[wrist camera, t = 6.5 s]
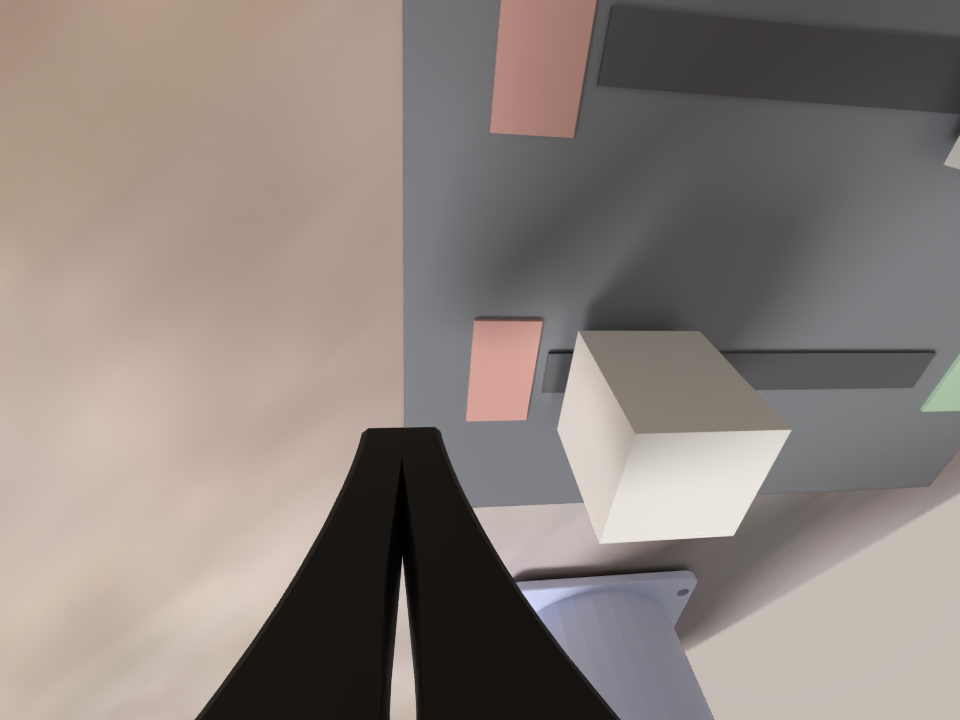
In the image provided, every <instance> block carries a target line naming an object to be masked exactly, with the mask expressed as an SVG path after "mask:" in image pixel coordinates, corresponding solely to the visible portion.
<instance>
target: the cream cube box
mask: <svg viewBox="0 0 960 720" xmlns="http://www.w3.org/2000/svg"><path fill="white" fill-rule="evenodd" d="M943 165H946V166H950V167H953V168H957V169H960V136H959V137H958V139H957V141H956V143H955V145H954V146H953V148H952V150H951V152H950V154H949V155H948V157H947V159H946V161H945V163H944V164H943Z"/></svg>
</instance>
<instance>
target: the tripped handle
mask: <svg viewBox="0 0 960 720" xmlns="http://www.w3.org/2000/svg"><path fill="white" fill-rule="evenodd" d="M557 431H558V433H559V436H560V439H561V441H562V444H563V447H564V450H565V452H566V455H567V458H568V460H569V463H570V466H571V468H572V471H573V474H574V477H575V479H576V482H577V485H578V487H579V490H580V493H581V495H582V498H583V501H584V504H585V506H586V509H587V512H588V514H589V517H590V520H591V522H592V525H593V528H594V531H595V533H596V536H597V539H598V541H599V544H604V543H621V542H638V541H655V540H672V539H689V538H706V537H723V536H734V534H735V532H736V530H737V529H738V527H739V525H740V523H741V521H742V519H743V518H744V516H745V514H746V512H747V510H748V509H749V507H750V505H751V503H752V501H753V499H754V498H755V496H756V494H757V492H758V490H759V489H760V487H761V485H762V483H763V481H764V479H765V478H766V476H767V474H768V472H769V470H770V468H771V467H772V465H773V463H774V461H775V459H776V458H777V456H778V454H779V452H780V450H781V448H782V447H783V445H784V443H785V441H786V439H787V438H788V436H789V434H790V432H791V428H790V427H789V426H788V425H787V424H786V423H785V422H784V421H783V420H782V419H781V418H780V417H779V416H778V415H777V413H776V412H775V411H774V410H773V409H772V408H771V407H770V406H769V405H768V404H767V403H766V402H765V401H764V400H763V398H762V397H761V396H760V395H759V394H758V393H757V392H756V391H755V390H754V389H753V388H752V387H751V386H750V384H749V383H748V382H747V381H746V380H745V379H744V378H743V377H742V376H741V375H740V374H739V373H738V372H737V371H736V369H735V368H734V367H733V366H732V365H731V364H730V363H729V362H728V361H727V360H726V359H725V358H724V357H723V355H722V354H721V353H720V352H719V351H718V350H717V349H716V348H715V347H714V346H713V345H712V344H711V343H710V342H709V340H708V339H707V338H706V337H705V336H704V335H703V334H702V333H701V332H700V331H578V335H577V339H576V344H575V349H574V353H573V358H572V363H571V367H570V372H569V377H568V381H567V386H566V390H565V395H564V400H563V404H562V409H561V414H560V418H559V423H558V428H557Z"/></svg>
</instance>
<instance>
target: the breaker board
mask: <svg viewBox="0 0 960 720" xmlns="http://www.w3.org/2000/svg"><path fill="white" fill-rule="evenodd" d="M959 136H960V0H403V234H404V428H406V427H436V428H437V429H438V430H440V431H441V434H442V438H443V442H444V445H445V448H446V451H447V454H448V456H449V459H450V461H451V464H452V467H453V469H454V471H455V473H456V476H457V478H458V480H459V483H460V485H461V487H462V489H463V491H464V493H465V495H466V497H467V499H468V501H469V503H470V505H471V507H472V508H478V507H499V506H521V505H543V504H564V503H584V501H583V498H582V495H581V493H580V490H579V487H578V485H577V482H576V479H575V477H574V474H573V471H572V468H571V466H570V463H569V460H568V458H567V455H566V452H565V450H564V447H563V444H562V441H561V439H560V436H559V433H558V431H557V428H558V423H559V418H560V414H561V409H562V404H563V400H564V395H565V390H566V386H567V381H568V377H569V372H570V367H571V363H572V358H573V353H574V349H575V344H576V339H577V335H578V331H700V332H701V333H702V334H703V335H704V336H705V337H706V338H707V339H708V340H709V342H710V343H711V344H712V345H713V346H714V347H715V348H716V349H717V350H718V351H719V352H720V353H721V354H722V355H723V357H724V358H725V359H726V360H727V361H728V362H729V363H730V364H731V365H732V366H733V367H734V368H735V369H736V371H737V372H738V373H739V374H740V375H741V376H742V377H743V378H744V379H745V380H746V381H747V382H748V383H749V384H750V386H751V387H752V388H753V389H754V390H755V391H756V392H757V393H758V394H759V395H760V396H761V397H762V398H763V400H764V401H765V402H766V403H767V404H768V405H769V406H770V407H771V408H772V409H773V410H774V411H775V412H776V413H777V415H778V416H779V417H780V418H781V419H782V420H783V421H784V422H785V423H786V424H787V425H788V426H789V427H790V428H791V432H790V434H789V436H788V438H787V439H786V441H785V443H784V445H783V447H782V448H781V450H780V452H779V454H778V456H777V458H776V459H775V461H774V463H773V465H772V467H771V468H770V470H769V472H768V474H767V476H766V478H765V479H764V481H763V483H762V485H761V487H760V489H759V490H758V492H757V494H756V495H759V494H780V493H802V492H823V491H845V490H867V489H888V488H910V487H929V486H930V485H931V483H932V482H933V481H934V480H935V478H936V477H937V476H938V475H939V473H940V472H941V471H942V470H943V468H944V467H945V466H946V465H947V464H948V462H949V461H950V460H951V459H952V457H953V456H954V455H955V454H956V452H957V451H958V450H959V449H960V169H957V168H953V167H950V166H946V165H943V164H944V163H945V161H946V159H947V157H948V155H949V154H950V152H951V150H952V148H953V146H954V145H955V143H956V141H957V139H958V137H959Z"/></svg>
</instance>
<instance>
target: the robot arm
mask: <svg viewBox="0 0 960 720" xmlns="http://www.w3.org/2000/svg"><path fill="white" fill-rule="evenodd" d="M402 556H403V565H404V576H405V586H406V596H407V607H408V617H409V627H410V637H411V648H412V658H413V668H414V678H415V694H416V717H417V720H714V717H713V715H712V713H711V711H710V708H709V706H708V704H707V702H706V699H705V697H704V695H703V693H702V691H701V688H700V686H699V683H698V681H697V679H696V677H695V674H694V672H693V670H692V668H691V665H690V663H689V661H688V658H687V656H686V654H685V652H684V649H683V647H682V645H681V643H680V640H679V638H678V636H677V633H676V631H675V629H674V626H675V624H676V623H677V621H678V619H679V617H680V615H681V613H682V611H683V609H684V607H685V606H686V604H687V602H688V600H689V598H690V596H691V594H692V592H693V591H694V589H695V587H696V585H697V582H698V581H697V579H696V577H695V575H694V573H693V572H691V571H688V570H683V571H669V572H654V573H639V574H625V575H610V576H596V577H581V578H567V579H552V580H537V581H523V582H515V581H514V579H513V578H512V576H511V575H510V573H509V572H508V570H507V568H506V567H505V565H504V564H503V562H502V560H501V559H500V557H499V555H498V554H497V552H496V550H495V549H494V547H493V545H492V544H491V542H490V540H489V538H488V537H487V535H486V533H485V531H484V530H483V528H482V526H481V524H480V522H479V520H478V518H477V516H476V515H475V513H474V511H473V509H472V507H471V505H470V503H469V501H468V499H467V497H466V495H465V493H464V491H463V489H462V487H461V485H460V483H459V480H458V478H457V476H456V473H455V471H454V469H453V467H452V464H451V461H450V459H449V456H448V454H447V451H446V448H445V445H444V442H443V438H442V434H441V431H440V430H438V429H437V428H436V427H406V428H368V429H367V430H366V431H364V432H363V433H362V435H361V439H360V443H359V446H358V449H357V452H356V455H355V458H354V460H353V463H352V466H351V468H350V470H349V473H348V475H347V477H346V480H345V482H344V484H343V487H342V489H341V491H340V493H339V495H338V497H337V499H336V501H335V503H334V505H333V507H332V509H331V511H330V513H329V515H328V517H327V519H326V521H325V523H324V525H323V527H322V529H321V531H320V533H319V535H318V536H317V538H316V540H315V542H314V543H313V545H312V547H311V549H310V550H309V552H308V554H307V556H306V557H305V559H304V561H303V563H302V564H301V566H300V568H299V570H298V571H297V573H296V575H295V577H294V578H293V580H292V582H291V583H290V585H289V586H288V588H287V590H286V591H285V593H284V594H283V596H282V598H281V599H280V601H279V602H278V604H277V605H276V607H275V608H274V610H273V612H272V613H271V615H270V616H269V618H268V619H267V620H266V622H265V623H264V625H263V626H262V628H261V629H260V631H259V632H258V634H257V635H256V637H255V638H254V640H253V641H252V643H251V644H250V646H249V647H248V648H247V650H246V651H245V652H244V654H243V655H242V657H241V658H240V659H239V661H238V662H237V664H236V665H235V666H234V668H233V669H232V670H231V672H230V673H229V675H228V676H227V677H226V679H225V680H224V682H223V683H222V684H221V686H220V687H219V689H218V690H217V691H216V693H215V694H214V695H213V696H212V698H211V699H210V700H209V702H208V703H207V704H206V706H205V707H204V708H203V710H202V711H201V712H200V714H199V715H198V716H197V718H196V719H195V720H390V697H391V679H392V668H393V657H394V646H395V635H396V623H397V612H398V601H399V590H400V578H401V567H402Z"/></svg>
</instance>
